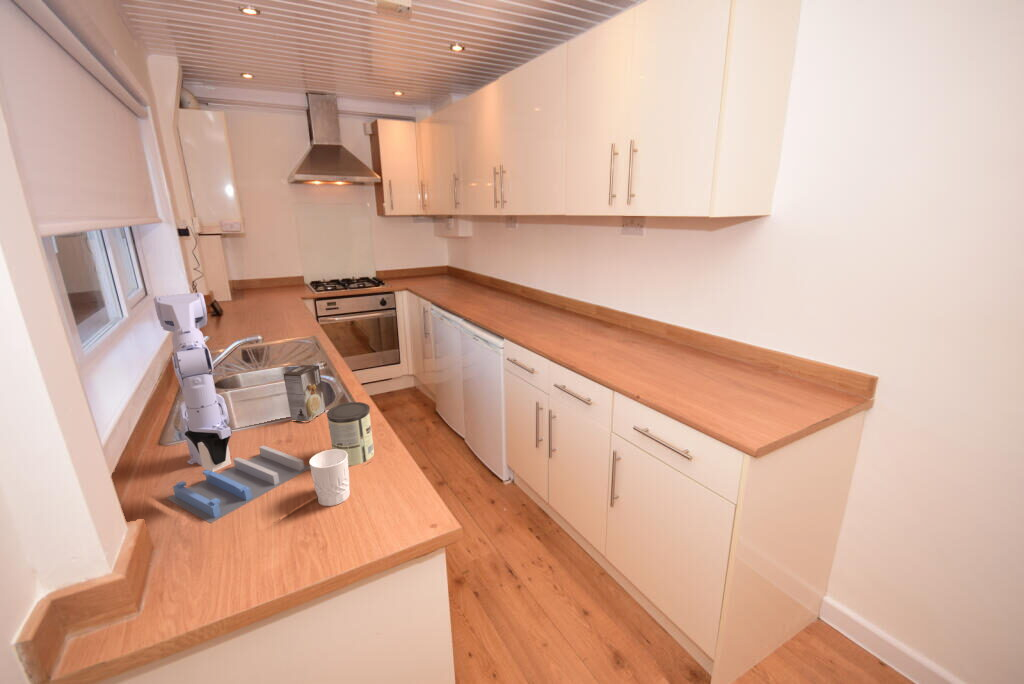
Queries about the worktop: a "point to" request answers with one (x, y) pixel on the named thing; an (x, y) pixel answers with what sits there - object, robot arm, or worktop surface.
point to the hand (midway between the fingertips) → (214, 460)
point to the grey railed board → (237, 484)
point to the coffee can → (352, 431)
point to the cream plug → (207, 460)
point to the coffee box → (304, 392)
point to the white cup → (330, 476)
